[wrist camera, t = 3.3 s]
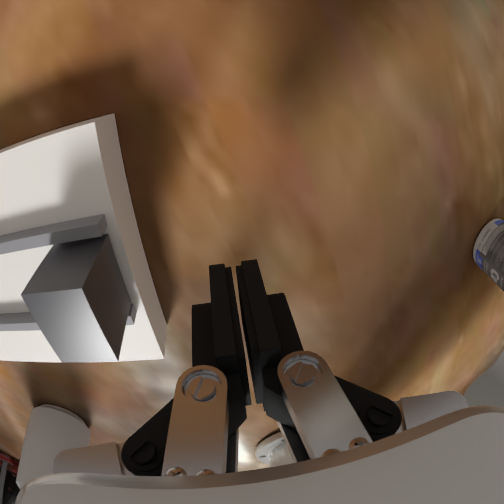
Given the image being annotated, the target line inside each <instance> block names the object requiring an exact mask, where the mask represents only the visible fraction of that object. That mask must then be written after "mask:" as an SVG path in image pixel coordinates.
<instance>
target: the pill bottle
mask: <svg viewBox="0 0 504 504" xmlns="http://www.w3.org/2000/svg"><path fill="white" fill-rule="evenodd" d="M473 258H474V261H475V262H476V264H477V265H478V266H479V267H480V268H481V269H482V270H483V271H484V272H485V273H486V274H487V275H488V276H489V277H490V278H491V279H492V280H493V281H494V282H495V283H496V284H497V285H498V286H499V287H500V288H501V289H502V290H503V291H504V220H502V219H498V218H497V219H493V220H492V221H490V222H489V223H487V224H486V225H485V227H484V228H483V229H482V231H481V232H480V234H479V235H478V237H477V239H476V242H475V245H474V249H473Z"/></svg>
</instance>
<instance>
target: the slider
mask: <svg viewBox="0 0 504 504" xmlns="http://www.w3.org/2000/svg"><path fill="white" fill-rule="evenodd" d="M21 296H22V298H23V300H24V302H25V304H26V306H27V307H28V309H29V311H30V313H31V314H32V316H33V318H34V320H35V321H36V323H37V325H38V326H39V328H40V330H41V331H42V333H43V334H44V336H45V338H46V339H47V341H48V342H49V344H50V345H51V347H52V349H53V350H54V352H55V353H56V355H57V356H58V357H59V359H60V360H61V362H117V361H119V355H120V350H121V345H122V341H123V336H124V331H125V327H126V322H127V318H128V313H129V309H130V305H131V299H130V296H129V294H128V291H127V288H126V286H125V283H124V280H123V277H122V274H121V271H120V268H119V265H118V263H117V259H116V256H115V253H114V250H113V247H112V244H111V241H110V238H109V234H103V235H102V236H101V237H95V238H89V239H83V240H77V241H71V242H65V243H59V244H54V245H53V246H52V248H51V249H50V250H49V252H48V253H47V255H46V256H45V258H44V259H43V261H42V262H41V264H40V265H39V267H38V268H37V270H36V271H35V273H34V274H33V276H32V277H31V279H30V281H29V282H28V284H27V285H26V287H25V289H24V290H23V292H22V293H21Z"/></svg>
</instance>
